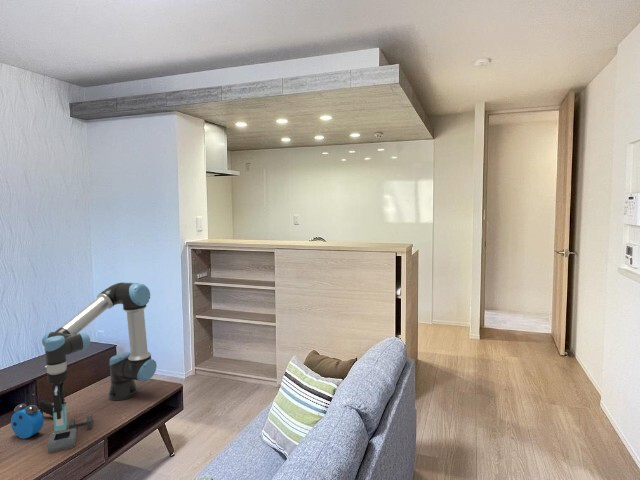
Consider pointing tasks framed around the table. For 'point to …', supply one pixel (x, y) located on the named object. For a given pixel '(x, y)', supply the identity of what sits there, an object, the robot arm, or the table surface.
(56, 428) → the plug
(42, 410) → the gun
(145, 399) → the table surface
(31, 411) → the alarm clock
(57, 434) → the port panel
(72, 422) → the grey u-shaped bracket
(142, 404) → the table surface
